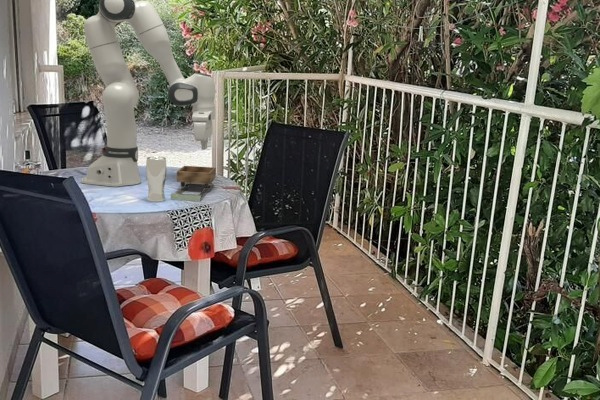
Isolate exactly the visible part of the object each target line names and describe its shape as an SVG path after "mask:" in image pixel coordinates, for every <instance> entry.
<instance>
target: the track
mask: <svg viewBox="0 0 600 400" xmlns="http://www.w3.org/2000/svg"><path fill="white" fill-rule="evenodd" d="M204 185H205V184H203V183H187V182H185V186H184V187H181V186H180V187H179V188H178V189H177V190H176V191H175V192H171V193H170V200H174V201H186V202H187V201H189V202H190V201H191V202H201V201H202V200H203V198H205V196H206V195H207V194H208V192H209V191H210V190H211V189H212V188H213V186H214V182H212V183H211V184H208V188H205V187H204ZM190 186H202V187H204V188H203V190H202V191H200V193H198V194H193V193H184V191H185V190H187V189H188V188H189V187H190Z"/></svg>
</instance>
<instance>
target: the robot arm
mask: <svg viewBox="0 0 600 400" xmlns="http://www.w3.org/2000/svg"><path fill="white" fill-rule="evenodd" d="M124 21H125V22H126V23H128V24H129V25H130V26H131V27H132V29H133V31H134V33H135V35H136V37H137V39H138V41H139V42H140V44H141V46H142V47H143V49H144V50H145V51H146V52H147V54H149V56H151V57H153V59H154V60H156V62H157V63H158V64H159V66H160V68H161V71H163V74H164V76H165V78H166V80H167V83H168V85H169V89H168V92H167V95H168V99H169V101H170V102H171V103H172V104H173V105H174V106H177V107H185V106H189V105H192V114H191V115H192V116H191V121H192V122H193V133H194V135H193V137H194V140H195V141H198V142H200V145H201V146H200V148H201V150H202V151H204V150H206V149H208V141H209V138H210V137H211V136H213V131H214V130H213V128H214V127H213V120H216V105H215V98H216V87H215V81H214V80H215V79H214V78H213V77H212V75H210V74H207V73H202V72H195V73H193V74H192V75H190V76H189V77H187V78H185V77H184V75H183V74H182V72H181V69H180V67H179V66H178V64H177V61H176V60H175V56H174V54H173V50H172V46H171V41H170V38H169V34H168V31H167V28H166V26H165V25H164V22H163V20H162V19H161V17H160V14H159V13H158V12H157V9H155V7H154V6H153V4H152V3H151V2H150V1H147V0H138V1H134V0H99V1H98V12H97V14H95V15H92V16H90V17H88V18H86V20H85V21H84V22H83V29H84V35H85V40H86V44H87V47H88V50H89V53H90V55H91V59H92V61H93V64H94V67H95V70H96V72H97V73H98V75H99V76H100V79H101V81H102V83H103V84H104V86H105V87H104V90H103V92H102V94H101V95H102V96H101V97H102V102H103V110H104V117H105V118H104V119H105V121H106V143H107V144H106V145H105V146H103V148H101V149H100V150H101V151H100V152H101V153H102V155H101V156H100V157H98V158H97V159H96V160H95V161H93V162H92V163H91V164H89V165H88V168H87V171H86V172H87V173H86V176H84V177H82V178H81V180H80V183H81V184H86V185H87V184H88V185H94V186H95V185H97V186H105V187H114V188H116V187H122V186H133V185H137V184H141V183H142V180H141V177H140V171H139V166H138V161H139V149H138V147H139V146H138V145H137V144H138V143H137V141H138V139H137V138H138V136H137V135H138V133H137V130H138V129H137V123H136V117H135V106H136V105H137V104H138V102H139V99H140V93H139V92H140V91H139V90H138V87H137V85H136V83H135V80H134V78H133V75H132V74H131V71H130V69H129V67H128V65H127V63H126V59H125V57H124V55H123V54H124V53H123V51H122V48H121V46H120V42H119V40H118V38H117V34H116V30H115V29H116V27H117V26H119V25H120V24H122V23H123V22H124Z"/></svg>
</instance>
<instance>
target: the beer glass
mask: <svg viewBox="0 0 600 400" xmlns="http://www.w3.org/2000/svg"><path fill="white" fill-rule="evenodd" d="M145 162H146V164H145V172H146V173H145V174H146V182H147V185H148V194H147V197H146V198H147V201H149V202H153V203H156V202H157V203H159V202H160V203H161V202H164V201H165V200H166V196H165V185H166V180H167V158H166V156H165V157H164V156H154V155H153V156H147V157H146V161H145Z"/></svg>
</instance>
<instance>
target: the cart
mask: <svg viewBox="0 0 600 400" xmlns="http://www.w3.org/2000/svg"><path fill="white" fill-rule="evenodd" d="M216 171H217V167H215V166H214V167H212V166H211V167H210V166H196V165H183V166H182V167H181V168H179V169H178V170H177V171H176V182H177V183H180V188H181V187H184V186H185V183H186V182H187V183H203V184H205V185H204V186H203V187H204V188H208V184H211V183H213V182H214V180H215V179H216V178H217V177H216V175H217V172H216Z"/></svg>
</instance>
